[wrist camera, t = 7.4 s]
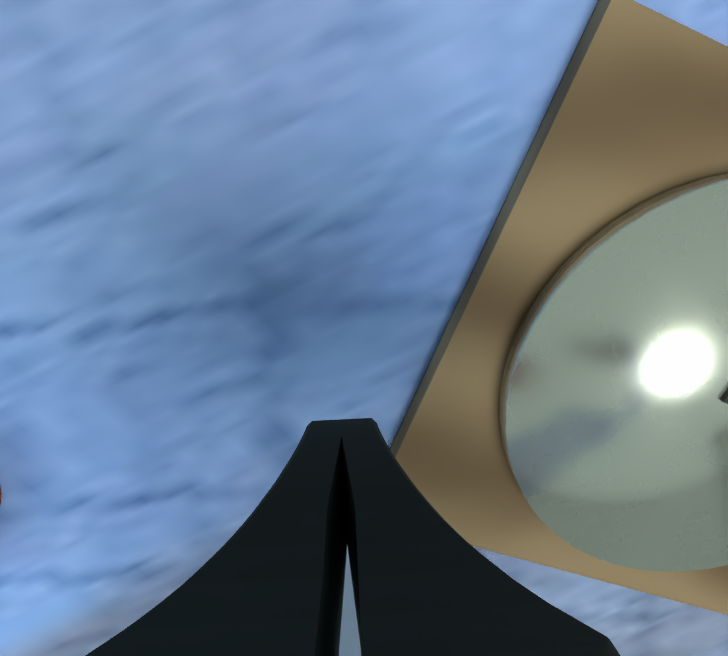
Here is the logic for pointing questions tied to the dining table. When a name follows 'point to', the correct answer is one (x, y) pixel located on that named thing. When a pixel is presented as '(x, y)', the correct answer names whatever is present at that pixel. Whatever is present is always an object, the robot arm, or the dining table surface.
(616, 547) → the capstan dial
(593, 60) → the dial base
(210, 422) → the dining table surface
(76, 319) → the dining table surface
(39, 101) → the dining table surface
